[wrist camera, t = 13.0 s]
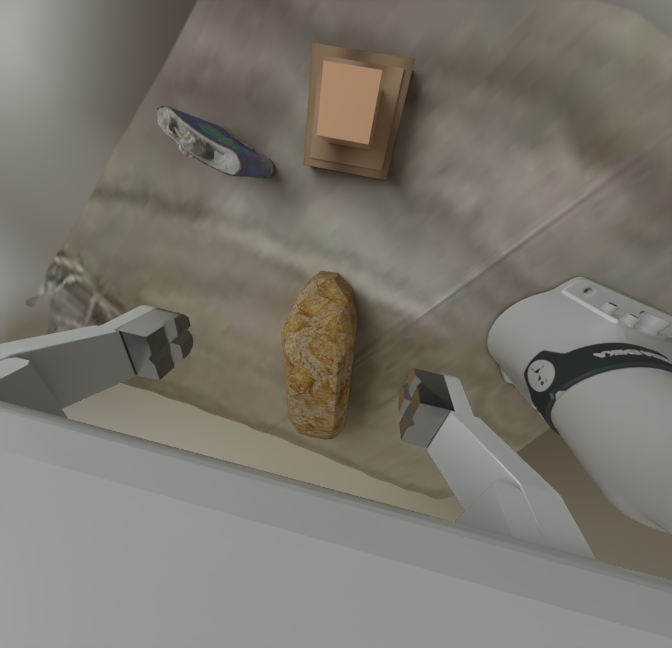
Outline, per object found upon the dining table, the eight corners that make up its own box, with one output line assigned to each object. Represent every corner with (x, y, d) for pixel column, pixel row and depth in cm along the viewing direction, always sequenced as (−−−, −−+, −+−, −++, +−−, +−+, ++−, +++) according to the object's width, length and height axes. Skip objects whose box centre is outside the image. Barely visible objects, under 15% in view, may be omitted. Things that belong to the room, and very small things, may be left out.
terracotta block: (382, 89, 24) (382, 70, 20) (370, 150, 27) (368, 144, 23) (333, 81, 25) (323, 60, 20) (327, 142, 27) (316, 135, 23)
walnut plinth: (412, 69, 25) (415, 58, 23) (386, 180, 30) (386, 180, 28) (318, 54, 26) (312, 41, 23) (309, 165, 31) (303, 164, 29)
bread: (294, 267, 38) (269, 291, 30) (363, 274, 37) (357, 302, 29) (299, 416, 57) (285, 458, 48) (346, 425, 56) (339, 468, 47)
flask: (277, 163, 31) (234, 155, 22) (269, 185, 33) (225, 186, 24) (212, 119, 30) (138, 91, 21) (207, 144, 32) (135, 129, 23)
